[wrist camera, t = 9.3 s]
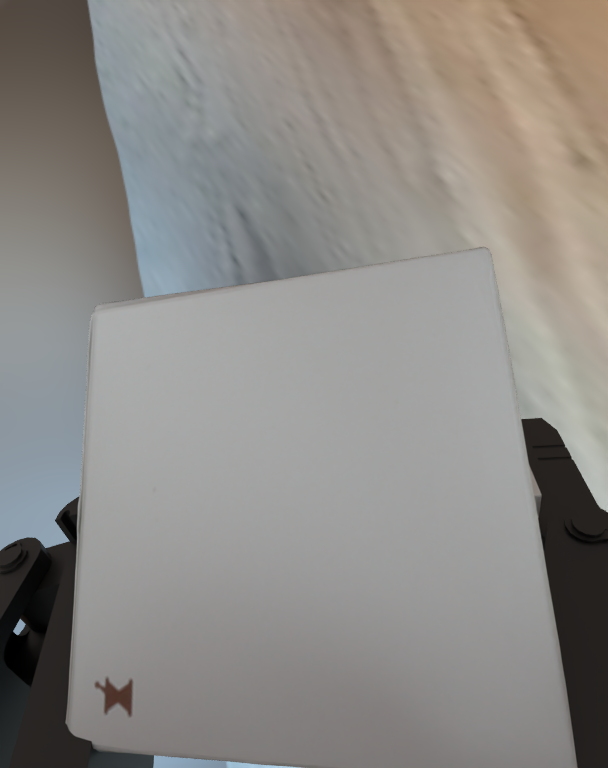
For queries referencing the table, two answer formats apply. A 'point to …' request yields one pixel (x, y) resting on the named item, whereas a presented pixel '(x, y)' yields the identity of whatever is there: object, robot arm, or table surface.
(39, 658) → the robot arm
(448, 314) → the supplement box
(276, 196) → the table surface
